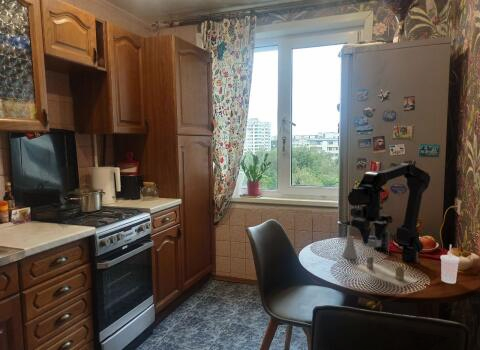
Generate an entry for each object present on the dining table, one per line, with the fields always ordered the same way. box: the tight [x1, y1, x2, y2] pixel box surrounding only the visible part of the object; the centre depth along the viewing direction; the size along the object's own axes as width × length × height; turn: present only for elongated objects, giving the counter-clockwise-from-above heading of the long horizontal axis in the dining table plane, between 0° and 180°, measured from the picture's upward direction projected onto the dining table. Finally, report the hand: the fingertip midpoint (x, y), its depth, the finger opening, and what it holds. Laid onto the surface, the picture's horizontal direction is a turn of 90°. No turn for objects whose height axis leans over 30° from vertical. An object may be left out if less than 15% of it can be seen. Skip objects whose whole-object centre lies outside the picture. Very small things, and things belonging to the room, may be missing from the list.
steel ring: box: [361, 235, 381, 248], centre depth 135 cm, size 7×7×2 cm
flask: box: [341, 235, 358, 260], centre depth 149 cm, size 7×7×10 cm
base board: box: [350, 255, 421, 288], centre depth 130 cm, size 12×22×6 cm, turn 32°
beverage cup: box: [439, 244, 461, 284], centre depth 125 cm, size 6×6×14 cm
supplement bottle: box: [372, 226, 390, 253], centre depth 160 cm, size 7×7×12 cm
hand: (371, 241), depth 135 cm, fingers closed on steel ring, 7 cm apart
